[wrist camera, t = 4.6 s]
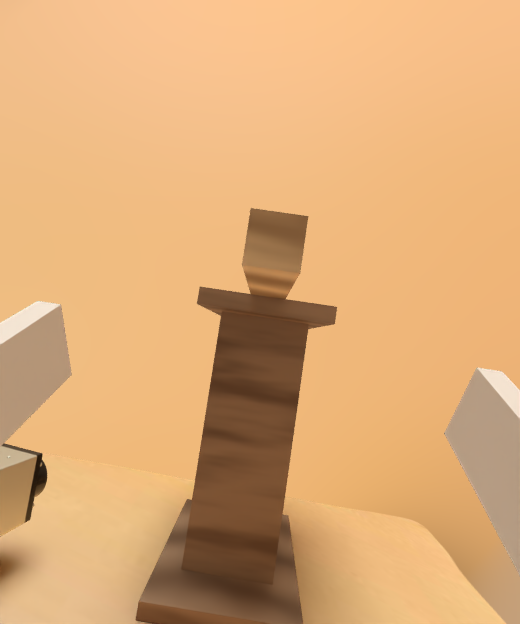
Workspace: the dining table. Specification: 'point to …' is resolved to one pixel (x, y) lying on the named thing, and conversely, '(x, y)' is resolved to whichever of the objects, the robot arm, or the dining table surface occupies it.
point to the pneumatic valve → (19, 485)
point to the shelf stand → (240, 474)
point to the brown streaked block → (273, 252)
